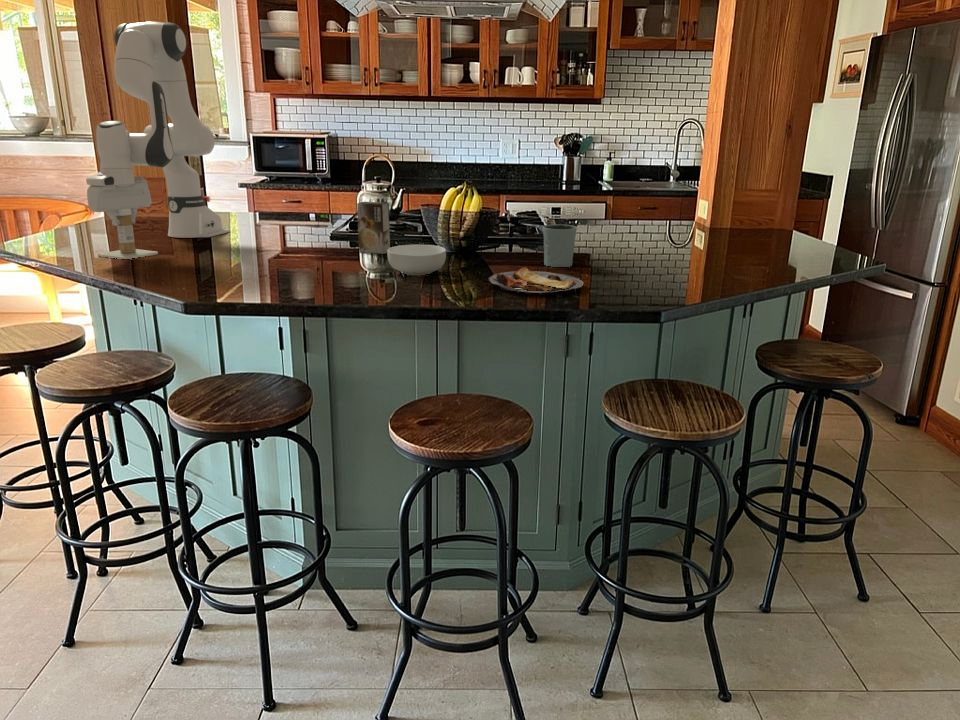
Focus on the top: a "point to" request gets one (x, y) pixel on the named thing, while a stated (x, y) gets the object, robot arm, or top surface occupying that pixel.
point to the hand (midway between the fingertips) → (124, 224)
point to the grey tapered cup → (559, 245)
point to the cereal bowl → (416, 258)
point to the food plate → (534, 281)
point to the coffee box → (373, 227)
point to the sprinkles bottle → (125, 231)
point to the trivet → (128, 254)
